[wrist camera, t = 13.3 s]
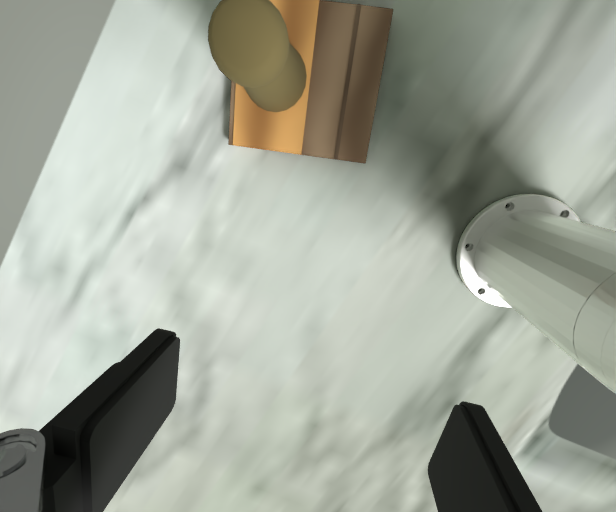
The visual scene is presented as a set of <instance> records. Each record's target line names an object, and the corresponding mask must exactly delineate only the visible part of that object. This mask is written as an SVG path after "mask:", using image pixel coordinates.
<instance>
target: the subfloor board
mask: <svg viewBox="0 0 616 512" xmlns="http://www.w3.org/2000/svg"><path fill="white" fill-rule="evenodd" d="M270 1H271V2H272V4H273V5H274V6H275V7H276V8H277V9H278V10H279V11H280V13H281V15H282V17H283V20H284V22H285V24H286V27H287V31H288V37H289V42H290V44H291V45H292V46H293V47H294V48H295V49H296V50H297V51H298V52H299V53H300V55H301V57H302V59H303V61H304V63H305V68H306V74H307V78H306V87H305V89H304V92H303V94H302V96H301V98H300V99H299V100H298V101H297V103H296V104H295V105H294V106H292V107H290V108H289V109H287V110H285V111H280V112H270V111H266V110H264V109H262V108H260V107H258V106H257V105H256V104H255V103H254V102H253V101H252V100H251V99H250V97H249V95H248V94H247V92H246V90H245V89H244V87H243V86H241V85H239V84H237V83H235V82H233V81H231V101H230V123H229V144H228V145H235V146H242V147H250V148H257V149H264V150H271V151H279V152H286V153H293V154H300V155H308V156H315V157H322V158H330V159H337V160H344V161H351V162H359V163H366V157H367V152H368V146H369V141H370V135H371V130H372V124H373V119H374V113H375V108H376V102H377V97H378V91H379V86H380V80H381V75H382V69H383V64H384V58H385V53H386V47H387V41H388V36H389V30H390V25H391V19H392V14H393V9H390V8H381V7H373V6H365V5H361V4H348V3H340V2H332V1H324V0H270Z"/></svg>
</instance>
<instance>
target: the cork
mask: <svg viewBox="0 0 616 512" xmlns="http://www.w3.org/2000/svg"><path fill="white" fill-rule="evenodd" d="M208 42H209V46H210V50H211V54H212V57H213V59H214V61H215V62H216V64H217V66H218V68H219V70H220V71H221V72H222V73H223V74H224V75H225V76H226V77H227V78H228V79H230V80H231V81H233V82H235V83H237V84H239V85H241V86H243V87H244V89H245V90H246V92H247V94H248V95H249V97H250V99H251V100H252V101H253V102H254V103H255V104H256V105H257V106H258V107H260V108H262V109H264V110H266V111H270V112H280V111H285V110H287V109H289V108H290V107H292V106H294V105H295V104H296V103H297V101H298V100H299V99H300V98H301V96H302V94H303V92H304V89H305V87H306V78H307V74H306V68H305V63H304V61H303V59H302V57H301V55H300V53H299V52H298V51H297V50H296V49H295V48H294V47H293V46H292V45H291V44H290V42H289V37H288V31H287V27H286V24H285V22H284V20H283V17H282V15H281V13H280V11H279V10H278V9H277V8H276V7H275V6H274V5H273V4H272V2H271V1H270V0H222V1H221V2H220V3H219V4H218V6H217V7H216V9H215V10H214V12H213V13H212V17H211V20H210V23H209V30H208Z"/></svg>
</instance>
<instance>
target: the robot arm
mask: <svg viewBox="0 0 616 512" xmlns="http://www.w3.org/2000/svg"><path fill="white" fill-rule="evenodd" d="M506 204H507V207H505V206H506ZM466 244H468V245H467V246H466V247H465V245H466ZM456 262H457V269H458V272H459V276H460V278H461V279H462V281H463V283H464V285H465V286H466V287H467V288H468V289H469V290H470V291H471V292H472V293H473V294H474V295H475V296H476V297H478V298H479V299H481V300H483V301H484V302H486V303H489V304H492V305H495V306H500V307H512V308H513V309H514V310H515V311H516V312H518V313H519V314H520V315H521V316H522V317H523V318H525V319H526V320H527V321H528V322H529V323H531V324H532V325H533V326H534V327H535V328H536V329H538V330H539V331H540V332H541V333H542V334H544V335H545V336H546V337H547V338H548V339H549V340H551V341H552V342H553V343H554V344H555V345H557V346H558V347H559V348H560V349H561V350H562V351H564V352H565V353H566V354H567V355H568V356H570V357H571V358H572V359H573V360H574V361H576V362H577V363H578V364H579V365H580V366H581V367H583V368H584V369H585V370H586V371H588V372H589V373H590V374H591V375H593V376H594V377H595V378H596V379H597V380H598V381H600V382H601V383H602V384H603V385H605V386H606V387H607V388H608V389H610V390H611V391H613V392H614V393H615V394H616V231H613V230H609V229H605V228H602V227H598V226H594V225H590V224H586V223H583V222H581V221H580V219H579V217H578V216H577V215H576V213H575V212H574V211H573V210H572V209H571V208H570V207H569V206H567V205H566V204H565V203H563V202H561V201H559V200H557V199H555V198H552V197H548V196H544V195H537V194H518V195H514V196H509V197H506V198H503V199H501V200H498V201H496V202H494V203H492V204H491V205H489V206H487V207H486V208H484V209H483V210H482V211H481V212H480V213H478V214H477V215H476V216H475V217H474V218H473V219H472V221H471V222H470V223H469V224H468V225H467V227H466V229H465V230H464V232H463V234H462V236H461V238H460V241H459V244H458V247H457V254H456ZM479 288H480V289H479ZM179 348H180V339H179V338H178V337H176V333H175V332H172V331H168V330H164V329H156V330H155V331H154V332H152V333H151V334H150V335H149V336H148V337H147V338H146V339H145V340H144V341H143V342H142V343H140V344H139V345H138V346H137V347H136V348H135V349H134V350H133V351H132V352H131V353H129V354H128V355H127V356H126V357H125V358H124V359H123V360H122V361H121V362H118V363H115V364H114V365H112V366H111V367H110V368H109V369H108V370H106V371H105V372H104V373H103V374H102V375H101V376H100V377H99V378H98V379H96V380H95V381H94V382H93V383H92V384H91V385H90V386H89V387H87V388H86V389H85V390H84V391H83V392H82V393H81V394H80V395H79V396H77V397H76V398H75V399H74V400H73V401H72V402H71V403H70V404H69V405H67V406H66V407H65V408H64V409H63V410H62V411H61V412H60V413H58V414H57V415H56V416H55V417H54V418H53V419H52V420H51V421H50V422H48V423H47V424H46V425H45V426H44V427H43V428H42V429H41V430H40V431H36V430H33V429H22V428H21V429H15V430H9V431H6V432H3V433H0V512H103V511H104V509H105V508H106V506H107V505H108V503H109V502H110V501H111V499H112V498H113V496H114V495H115V493H116V492H117V490H118V489H119V487H120V486H121V484H122V483H123V481H124V480H125V478H126V477H127V476H128V474H129V473H130V471H131V470H132V468H133V467H134V465H135V464H136V462H137V461H138V459H139V458H140V456H141V455H142V453H143V452H144V451H145V449H146V448H147V446H148V445H149V443H150V442H151V440H152V439H153V437H154V436H155V434H156V433H157V431H158V430H159V428H160V427H161V426H162V424H163V423H164V421H165V420H166V418H167V417H168V415H169V414H170V412H171V411H172V409H173V407H174V404H175V400H176V388H177V375H178V362H179ZM428 475H429V479H430V483H431V487H432V491H433V494H434V498H435V502H436V506H437V509H438V512H542V510H541V509H540V507H539V505H538V503H537V501H536V500H535V498H534V496H533V494H532V493H531V491H530V489H529V487H528V485H527V484H526V482H525V480H524V478H523V476H522V475H521V473H520V471H519V469H518V468H517V466H516V464H515V462H514V460H513V459H512V457H511V455H510V453H509V452H508V450H507V448H506V446H505V444H504V443H503V441H502V439H501V437H500V436H499V434H498V432H497V430H496V428H495V427H494V425H493V423H492V421H491V420H490V418H489V416H488V414H487V412H486V411H485V409H484V408H483V407H482V406H481V405H476V404H472V403H468V402H461V403H460V404H459V405H455V406H454V408H453V410H452V412H451V414H450V417H449V419H448V421H447V423H446V426H445V428H444V430H443V432H442V435H441V437H440V439H439V441H438V444H437V446H436V448H435V450H434V453H433V455H432V457H431V459H430V462H429V465H428Z"/></svg>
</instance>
